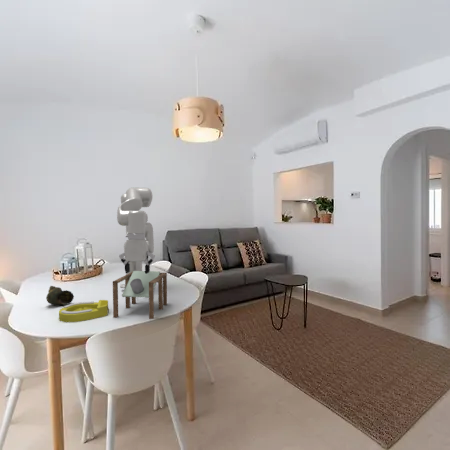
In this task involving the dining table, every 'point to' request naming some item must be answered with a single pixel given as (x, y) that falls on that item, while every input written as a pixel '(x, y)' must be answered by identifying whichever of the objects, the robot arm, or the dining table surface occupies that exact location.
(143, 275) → the pale green flat block
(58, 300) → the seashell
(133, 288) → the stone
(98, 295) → the dining table surface
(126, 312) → the dining table surface
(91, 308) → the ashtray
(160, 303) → the frame
